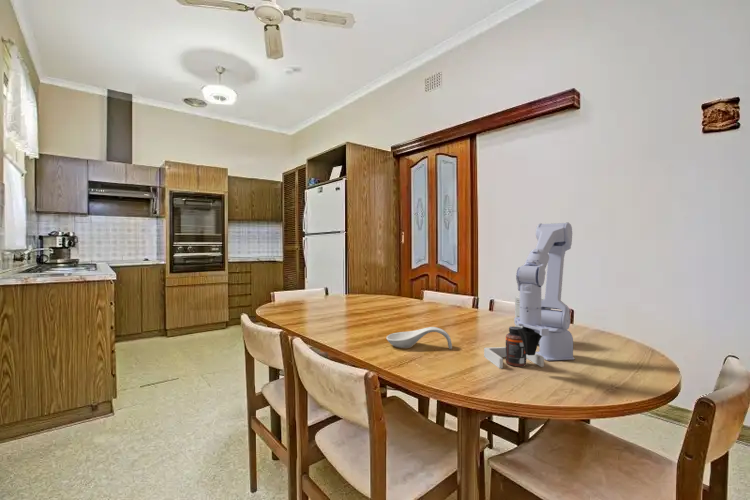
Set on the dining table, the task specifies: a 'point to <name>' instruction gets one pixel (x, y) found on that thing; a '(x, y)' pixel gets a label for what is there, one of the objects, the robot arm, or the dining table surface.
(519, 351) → the supplement bottle
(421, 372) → the dining table surface
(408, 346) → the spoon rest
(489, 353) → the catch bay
